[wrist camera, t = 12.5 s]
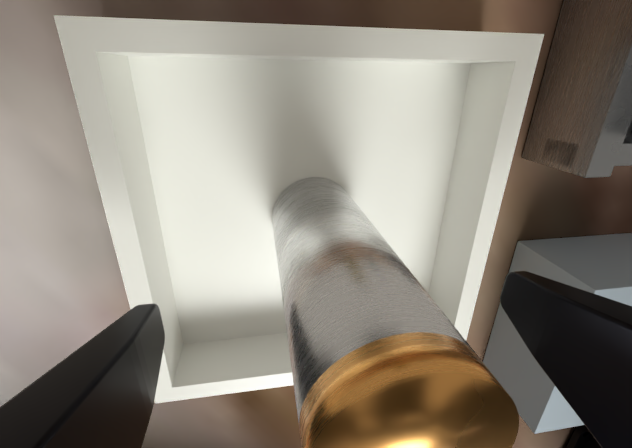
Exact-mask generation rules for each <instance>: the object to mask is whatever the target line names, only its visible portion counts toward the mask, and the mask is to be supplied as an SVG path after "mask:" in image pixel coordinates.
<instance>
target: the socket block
mask: <svg viewBox="0 0 632 448" xmlns="http://www.w3.org/2000/svg"><path fill="white" fill-rule="evenodd" d="M515 271H528V272H531V273H534V274H537V275H540V276H543V277H546V278H549V279H552V280H555V281H557V282H560V283H563V284H566V285H569V286H572V287H575V288H578V289H581V290H584V291H587V292H590V293H593V294H596V295H599V296H602V297H605V298H608V299H611V300H614V301H617V302H620V303H623V304H626V305H629V306H632V233H622V234H609V235H595V236H581V237H567V238H554V239H540V240H526V241H518V243H517V246H516V250H515V253H514V256H513V260H512V263H511V267H510V270H509V273H510V272H515ZM483 363H484V364H485V366H486V367H487V368H488V369H489V371H490V372H491V373H492V374H493V376H494V377H495V378H496V379H497V381H498V382H499V383H500V384H501V386H502V387H503V388H504V389H505V391H506V392H507V393H508V394H509V396H510V397H511V398H512V400H513V401H514V403H515V405H516V407H517V411H518V413H519V415H520V416H521V417H522V418H523V420H524V421H525V422H526V424H527V425H528V426H529V427H530V429H531V430H532V431H533V433H534V434H536V433H542V432H547V431H553V430H558V429H564V428H570V427H575V426H581V425H584V423H583V422H582V421H581V419H580V418H579V417H578V415H577V414H576V413H575V411H574V410H573V409H572V408H571V406H570V405H569V404H568V402H567V401H566V400H565V398H564V397H563V396H562V394H561V393H560V392H559V390H558V389H557V388H556V386H555V385H554V384H553V382H552V381H551V380H550V378H549V377H548V376H547V375H546V373H545V372H544V371H543V369H542V368H541V367H540V365H539V364H538V362H537V361H536V360H535V358H534V357H533V355H532V354H531V352H530V351H529V349H528V348H527V346H526V345H525V343H524V341H523V340H522V338H521V337H520V335H519V333H518V332H517V330H516V329H515V327H514V326H513V324H512V322H511V321H510V319H509V318H508V316H507V314H506V313H505V311H504V310H503V308H502V306H501V303H500V305H499V308H498V311H497V315H496V318H495V322H494V325H493V329H492V332H491V335H490V339H489V342H488V346H487V349H486V353H485V356H484V359H483Z"/></svg>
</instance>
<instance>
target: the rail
mask: <svg viewBox="0 0 632 448" xmlns="http://www.w3.org/2000/svg"><path fill="white" fill-rule="evenodd" d="M631 121H632V0H563V4H562V7H561V11H560V15H559V19H558V23H557V26H556V30H555V34H554V38H553V41H552V45H551V49H550V53H549V56H548V60H547V64H546V68H545V71H544V75H543V79H542V83H541V86H540V90H539V94H538V98H537V101H536V105H535V109H534V113H533V117H532V120H531V124H530V128H529V132H528V135H527V139H526V143H525V147H524V150H523V154H522V158H524V159H527V160H530V161H534V162H537V163H540V164H543V165H546V166H549V167H553V168H556V169H559V170H562V171H565V172H568V173H572V174H575V175H578V176H581V177H584V178H592V177H610V176H611V173H612V170H613V168H614V166H630V165H632V136H629V135H626V134H627V131H628V129H629V126H630V123H631Z"/></svg>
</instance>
